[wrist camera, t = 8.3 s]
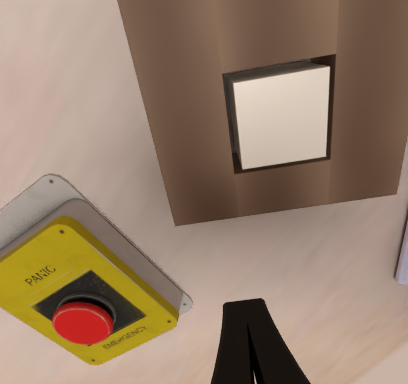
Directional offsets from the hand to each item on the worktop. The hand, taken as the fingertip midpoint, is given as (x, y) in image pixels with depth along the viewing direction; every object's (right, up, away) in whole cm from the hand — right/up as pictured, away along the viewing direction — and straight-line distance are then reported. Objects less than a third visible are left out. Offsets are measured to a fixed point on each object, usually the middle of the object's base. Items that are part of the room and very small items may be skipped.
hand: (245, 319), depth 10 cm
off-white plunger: (+2, +9, +6) cm, 11 cm away
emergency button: (-10, -1, +12) cm, 16 cm away
